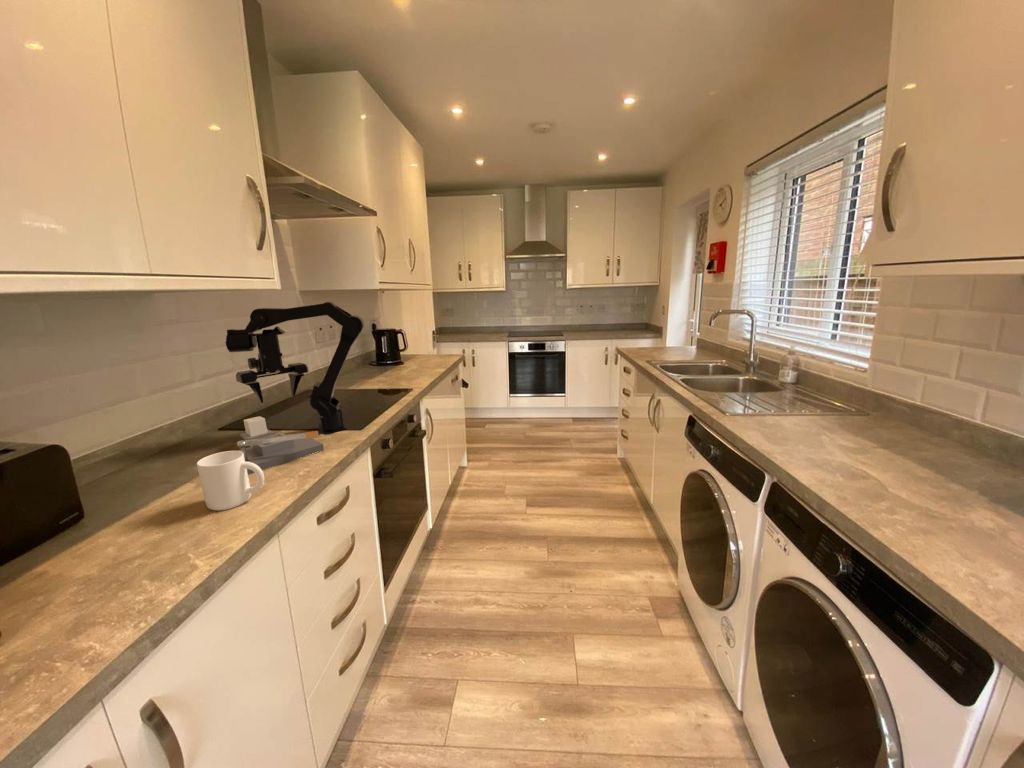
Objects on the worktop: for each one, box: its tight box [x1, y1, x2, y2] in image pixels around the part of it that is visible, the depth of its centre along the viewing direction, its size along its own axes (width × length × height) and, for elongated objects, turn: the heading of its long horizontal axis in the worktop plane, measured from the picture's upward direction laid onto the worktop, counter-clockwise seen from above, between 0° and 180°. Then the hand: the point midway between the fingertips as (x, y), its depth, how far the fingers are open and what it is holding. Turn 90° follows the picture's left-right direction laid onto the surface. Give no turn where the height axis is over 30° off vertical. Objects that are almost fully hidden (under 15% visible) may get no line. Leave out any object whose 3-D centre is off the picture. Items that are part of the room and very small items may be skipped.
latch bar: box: [236, 430, 319, 448], centre depth 108 cm, size 19×2×1 cm, turn 110°
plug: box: [240, 415, 275, 447], centre depth 122 cm, size 7×7×8 cm
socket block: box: [237, 432, 325, 476], centre depth 113 cm, size 20×15×6 cm
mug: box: [196, 450, 265, 512], centre depth 88 cm, size 12×8×10 cm
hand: (278, 399), depth 127 cm, fingers open, 9 cm apart
